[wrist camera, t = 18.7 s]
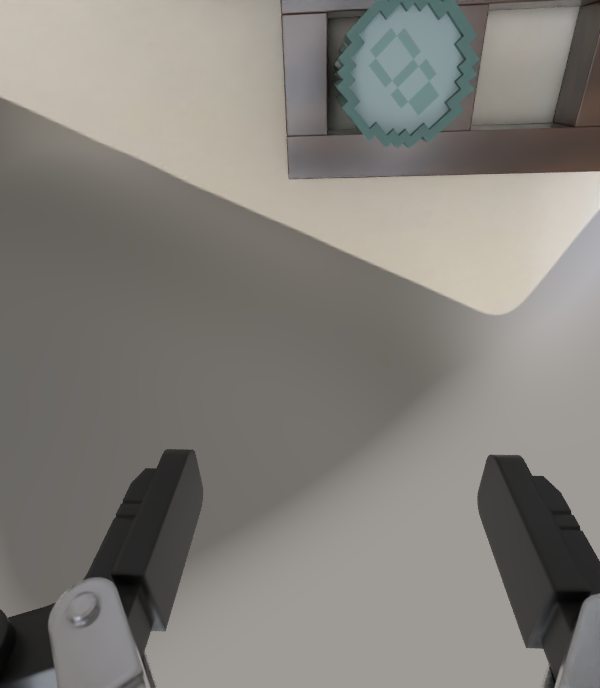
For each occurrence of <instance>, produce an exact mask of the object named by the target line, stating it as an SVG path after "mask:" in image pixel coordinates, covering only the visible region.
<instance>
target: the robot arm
mask: <svg viewBox="0 0 600 688" xmlns="http://www.w3.org/2000/svg"><path fill="white" fill-rule="evenodd" d="M202 500H203V486H202V482H201V477H200V472H199V468H198V463H197V458H196V454H195V451H194V450H176V449H174V450H173V449H167V450H165V451H164V453H163V455H162V457H161V459H160V462H159V464H158V466H157V468H156V469H150V468H148V469H147V468H146V469H145V470H144V471H143V472H142V473H141V474H140V475H139V476H138V477H137V478H136V479H135V480H134V481H133V482H132V483H131V485H130V487H129V489H128V491H127V493H126V495H125V497H124V499H123V503H122V504H121V505H120V507H119V509H118V511H117V513H116V518H114V520H113V522H112V524H111V526H110V528H109V530H108V532H107V534H106V536H105V538H104V540H103V542H102V544H101V546H100V549H99V551H98V553H97V555H96V557H95V559H94V561H93V563H92V565H91V567H90V569H89V571H88V573H87V575H86V577H85V578H84V579H83V581H81V582H79V583H77V584H75V585H73V586H72V587H71V588H69V589H68V590H67V591H66V592H65V593H64V594H63V595H62V596H61V597H60V598H59V599H58V601H57V602H56V603H54V604H51V605H49V606H46V607H43V608H40V609H36V610H32V611H29V612H26V613H23V614H19V615H16V616H12V617H9V618H7V616H6V615H5V614H4V613H3V611H2V610H0V688H157V686H156V683H155V680H154V677H153V674H152V671H151V668H150V665H149V662H148V659H147V655H146V653H145V647H146V645H147V641H148V638H149V635H150V632H151V631H166V627H167V624H168V621H169V617H170V614H171V610H172V607H173V603H174V600H175V597H176V593H177V590H178V586H179V583H180V580H181V576H182V572H183V569H184V566H185V562H186V559H187V556H188V552H189V549H190V545H191V542H192V538H193V535H194V532H195V528H196V525H197V521H198V518H199V515H200V511H201V507H202ZM478 509H479V515H480V518H481V520H482V524H483V526H484V529H485V532H486V535H487V538H488V541H489V544H490V546H491V549H492V552H493V555H494V558H495V560H496V563H497V566H498V569H499V572H500V575H501V577H502V580H503V583H504V586H505V589H506V592H507V595H508V598H509V601H510V603H511V606H512V609H513V612H514V614H515V617H516V620H517V623H518V626H519V629H520V632H521V635H522V637H523V640H524V643H525V646H526V648H542V649H544V652H545V654H546V657H547V659H548V662H549V665H548V667H547V669H546V672H545V675H544V679H543V682H542V685H541V688H600V561H599V559H598V558H597V556H596V554H595V552H594V551H593V549H592V547H591V545H590V544H589V542H588V540H587V538H586V537H585V535H584V533H583V531H581V530H580V526H579V524H578V522H577V521H576V519H575V517H574V515H572V514H571V510H570V508H569V506H568V505H567V503H566V501H565V499H564V498H563V496H562V494H561V492H559V491H558V490H557V489H556V488H555V487H554V486H553V485H552V484H551V483H550V482H549V481H548V480H547V479H545V477H544V476H532V474H531V473H530V471H529V469H528V467H527V465H526V463H525V462H524V459H523V458H522V457H521V456H519V455H489V456H488V458H487V460H486V464H485V468H484V472H483V475H482V480H481V483H480V487H479V491H478Z"/></svg>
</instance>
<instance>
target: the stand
mask: <svg viewBox="0 0 600 688" xmlns="http://www.w3.org/2000/svg"><path fill="white" fill-rule="evenodd" d="M375 1H376V0H281V14H282V16H281V19H282V41H283V64H284V86H285V108H286V130H287V153H288V175H289V179H315V178H354V177H392V176H431V175H470V174H509V173H548V172H586V171H600V0H455V1H456V3H457V4H458V6H459V8H460V9H461V11H462V12H463V14H464V15H465V17H466V19H467V20H468V22H469V23H470V25H471V26H472V28H473V30H474V31H475V33H476V34H477V37H476V38H475V39H474V40H473V41H472V42H471V43H470V45H471V47H472V48H473V50H474V52H475V53H476V55H477V56H478V58H479V59H480V60H479V61H477V62H476V63H475V64H474V65H473V66H472V68H473V70H474V71H475V73H476V74H477V75H476V76H475V77H474V78H473V79H471V80H470V81H469V83H470V84H471V86H472V87H473V89H474V90H473V91H471V92H470V93H469V94H468V95H467V96H466V97H465V98H464V99H463V100H462V101H461V102H460V103H459V104H460V106H461V107H462V109H463V111H462V112H461V113H460V114H459V115H458V116H457V117H456V118H455V119H454V120H452V121H451V122H450V123H449V124H448V125H447V126H446V127H445V128H444V129H443V130H442V131H440V132H439V133H438V134H437V135H436V136H435V137H434V138H433V139H432V140H431V141H429V142H428V143H427V142H426V141H424V140H422V139H420V140H418V141H417V142H416V143H415V144H414V145H413V146H412V147H411V148H410V149H409V148H408V147H407V146H405V145H404V144H402V145H401V146H400V147H399V148H398V149H397V148H396V147H395V146H394V145H393V144H392V143H391V144H390V145H389V146H388V147H387V148H385V147H384V145H383V144H382V143H381V142H380V141H379V140H378V138H377V137H376V136H374V137H373V138H372V139H371V140H370V141H368V140H367V138H366V137H365V136H364V135H363V134H362V132H361V131H360V130H359V129H356V130H328V80H327V18H343V17H362V16H363V14H364V13H365V12H366V11H367V10H368V9H369V8H370V6H371V5H372V4H373V3H374V2H375ZM387 1H388V2H389V0H387ZM569 6H581V8H580V12H579V16H578V21H577V25H576V29H575V33H574V37H573V41H572V46H571V50H570V54H569V58H568V62H567V66H566V71H565V75H564V79H563V83H562V87H561V91H560V95H559V100H558V104H557V108H556V112H555V116H554V120H553V123H540V124H509V125H479V126H471V120H472V114H473V107H474V101H475V94H476V88H477V81H478V75H479V68H480V62H481V55H482V48H483V42H484V35H485V29H486V22H487V16H488V10H507V9H528V8H548V7H569Z"/></svg>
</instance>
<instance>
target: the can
mask: <svg viewBox="0 0 600 688" xmlns="http://www.w3.org/2000/svg"><path fill="white" fill-rule="evenodd" d="M476 37H477V34H476V33H475V31H474V30H473V28H472V26H471V25H470V23H469V22H468V20H467V19H466V17H465V15H464V14H463V12H462V11H461V9H460V8H459V6H458V4H457V3H456V1H455V0H389V2H388V1H387V0H376V1H375V2H374V3H373V4H372V5H371V6H370V8H369V9H368V10H367V11H366V12H365V13H364V14H363V16H362V17H361V18H360V19H359V20H358V21H357V22H356V23H355V25H354V26H353V27H352V28H351V29H350V30H349V31H348V33H347V34H346V35H345V38H344V40H343V42H342V45H341V47H340V49H339V54H340V56H339V57H338V59H337V61H336V63H335V65H334V67H335V68H336V69H337V72H336V73H335V74H334V76H335V78H336V79H337V80H336V81H335V82H334V83H333V85H334V86H335V87H336V88H337V89H338V91H339V92H340V93H339V94H338V95H337V97H336V98H337V100H338V102H339V104H340V106H341V107H342V109H343V110H344V111H345V113H346V114H347V115H348V116H349V118H350V119H351V120H352V121H353V122H354V124H355V125H356V126H357V127H358V129H359V130H360V131H361V132H362V134H363V135H364V136H365V137H366V138H367V140H368V141H370V140H371V139H372V138H373V137H374V136H376V137H377V138H378V140H379V141H380V142H381V143H382V144H383V145H384V147H385V148H387V147H388V146H389V145H390V144H391V143H392V144H393V145H394V146H395V147H396V148H397V149H398V148H399V147H400V146H401V145H402V144H404V145H405V146H407V147H408V148H409V149H410V148H411V147H412V146H413V145H414V144H415V143H416V142H417V141H418V140H420V139H422V140H424V141H426V142H427V143H428V142H429V141H431V140H432V139H433V138H434V137H435V136H436V135H437V134H438V133H439V132H440V131H442V130H443V129H444V128H445V127H446V126H447V125H448V124H449V123H450V122H451V121H452V120H454V119H455V118H456V117H457V116H458V115H459V114H460V113H461V112H462V111H463V109H462V107H461V106H460V104H459V103H460V102H461V101H462V100H463V99H464V98H465V97H466V96H467V95H468V94H469V93H470V92H471V91H473V90H474V89H473V87H472V86H471V84H470V83H469V81H470V80H471V79H473V78H474V77H475V76H476V75H477V74H476V73H475V71H474V70H473V68H472V66H473V65H474V64H475V63H476V62H477V61H479V60H480V59H479V58H478V56H477V55H476V53H475V52H474V50H473V48H472V47H471V45H470V43H471V42H472V41H473V40H474V39H475V38H476Z"/></svg>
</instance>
